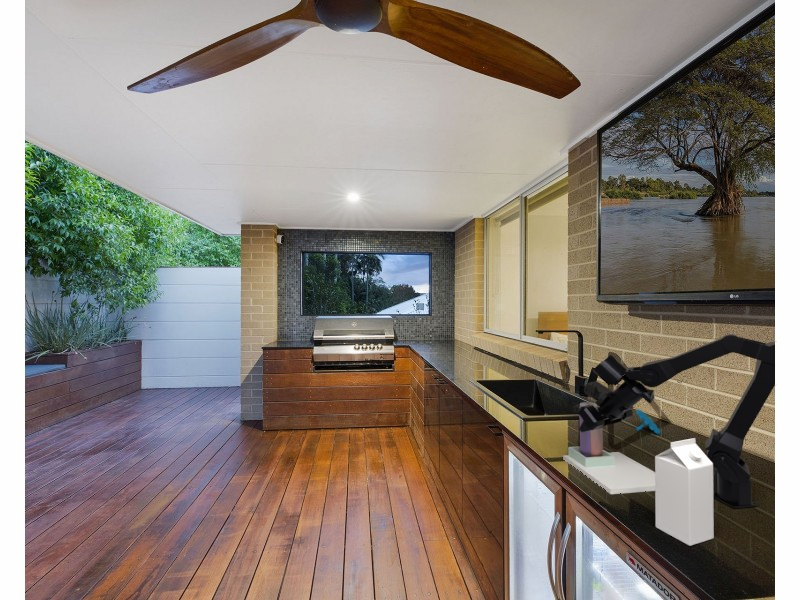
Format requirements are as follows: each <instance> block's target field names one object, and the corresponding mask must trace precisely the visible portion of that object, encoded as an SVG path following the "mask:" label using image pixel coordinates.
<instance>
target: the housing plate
mask: <svg viewBox="0 0 800 600" xmlns="http://www.w3.org/2000/svg"><path fill="white" fill-rule="evenodd" d="M567 451H568V453H567V454H568V455H562V457H563V458H562V459H563V461H564V460H565V462H566V463H567V462H568V463H567V464H569V465H570V464H571V465H572V466H571V465H570V466H571V467H573V466H574V467H575V468H576V469H575V468H574V467H573V468H574V469H575V470H577V469H578V470H579V471H578V470H577V471H578V472H580V471H581V472H582V473H583V474H582V473H581V472H580V473H581V474H582V475H584V476H585V475H586V476H587V477H586V476H585V477H586V478H588V479H589V478H590V479H591V480H590V479H589V480H590V481H592V482H593V481H594V483H595V484H596V483H597V484H598V485H597V484H596V485H597V486H599V487H600V486H601V487H602V489H603V488H604V489H605V490H606V492H607V493H608V494H609V495H618V494H619V495H620V493H621V494H631V493H645V491H646V492H655V470H654V471H653V470H652V469H651V468H648V467H647V466H644V465H643V464H641V463H639V462H637V461H635V460H634V459H632V458H630V457H628V456H626V455H625V454H623V453H622V452H620V451H613V452H608V451H606V450H604V449H603V456H600V457H585V456H583V455H582V454H581V453H580V445H579V446H568V449H567ZM601 487H600V488H601ZM604 489H603V490H604ZM605 490H604V491H605Z"/></svg>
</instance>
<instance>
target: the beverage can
mask: <svg viewBox="0 0 800 600" xmlns="http://www.w3.org/2000/svg"><path fill="white" fill-rule="evenodd" d="M586 405H593V406H594V407H595V408H596V410H597V408H599V406H597V404H596V403H595V402H592V401H591V402H590V401H583V402H580V403H579V409H580V408H581V407H582V406H586ZM597 411H598V410H597ZM578 415H579V414H578ZM582 422H583V419H582V417H581V416H580V415H579V427H580V426H581V424H582ZM603 437H604V436H603V427H602V428H599V429H595V430H590V431H585V432H581V431H580V430H579V446H580V453H581V454H582V455H583V456H585V457H600V456H603V450H604V443H603V442H604V441H603V440H604V438H603Z"/></svg>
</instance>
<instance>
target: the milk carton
mask: <svg viewBox="0 0 800 600" xmlns="http://www.w3.org/2000/svg"><path fill="white" fill-rule="evenodd" d="M654 467H655V470H654V472H655V491H654V492H655V493H654V494H655V496H654V497H655V498H654V499H655V503H654V504H655V506H654V508H655V528H657V529H659V530H660V531H662V532H664V533H665V534H667V535H669V536H672V537H673V538H675V539H676V540H678V541H680V542H682V543H684V544H685V545H687V546H689V547H690V546H693V545H697V544H700V543H703V542H706V541H709V540H713V539H714V538H715V537H714V536H715V535H714V532H715V531H714V529H715V528H714V527H715V526H714V521H715V519H714V518H715V517H714V498H713V493H714V467H713V463H712V462H711V461H710V459H709V458H708V457H707V454H705V452H704V451H703V450H702V449H701V448H700V446H699V445H698V444H697V443H696V437H694V438H688V439H682V440H678V441H677V440H676V441H672V442H670V448H668V449H666V450H664V451H663V452H660V453H659V454H656V455H655V456H654Z"/></svg>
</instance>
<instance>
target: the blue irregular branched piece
mask: <svg viewBox="0 0 800 600" xmlns="http://www.w3.org/2000/svg"><path fill="white" fill-rule="evenodd" d="M635 411H636V414H637V415H638V418H639V419H641V420H642V421H643V422H642V424H640V425H639V426H638V427H636V428H635V429H636V430H637V431H638V432H639V431H640V430H642V429H643V428H644V427H649V429H650V430H651V431H653V432H654V433H655V435H656V434H657V435H660V434H661V429H660V428H658V426H657V424H656V423H655V422H654V421H653V419H652V418H651V417H649V416H648V415H647V414H646V413H644V412H643V411H642V410H641V409H636V410H635Z"/></svg>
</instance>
